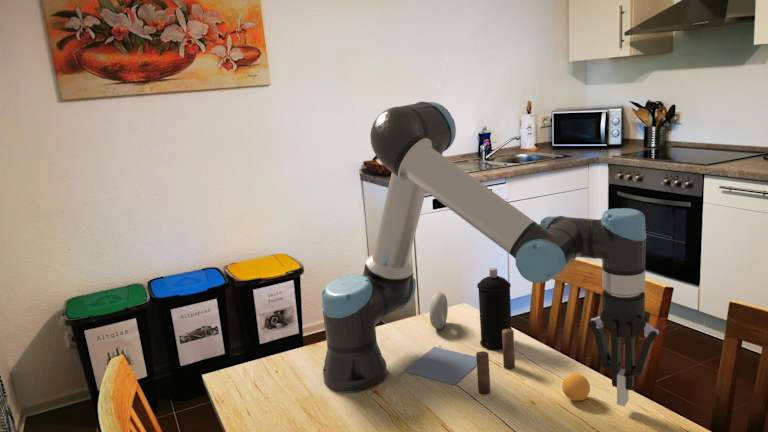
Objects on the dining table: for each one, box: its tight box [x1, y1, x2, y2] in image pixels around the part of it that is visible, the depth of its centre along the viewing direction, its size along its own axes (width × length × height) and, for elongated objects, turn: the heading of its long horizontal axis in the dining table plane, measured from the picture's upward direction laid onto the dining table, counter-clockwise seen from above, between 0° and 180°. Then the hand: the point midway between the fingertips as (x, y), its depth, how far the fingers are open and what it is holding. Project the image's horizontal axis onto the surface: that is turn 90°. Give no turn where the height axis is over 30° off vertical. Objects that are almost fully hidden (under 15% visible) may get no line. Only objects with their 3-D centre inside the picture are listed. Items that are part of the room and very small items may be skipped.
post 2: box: [502, 328, 516, 370], centre depth 141 cm, size 3×3×9 cm
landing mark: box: [402, 346, 477, 386], centre depth 145 cm, size 14×14×1 cm
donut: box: [429, 291, 449, 330], centre depth 165 cm, size 10×4×10 cm, turn 161°
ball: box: [561, 372, 591, 402], centre depth 126 cm, size 6×6×6 cm
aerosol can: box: [476, 267, 512, 351], centre depth 152 cm, size 8×8×20 cm
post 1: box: [475, 350, 491, 396], centre depth 131 cm, size 3×3×9 cm
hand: (622, 401), depth 120 cm, fingers closed
